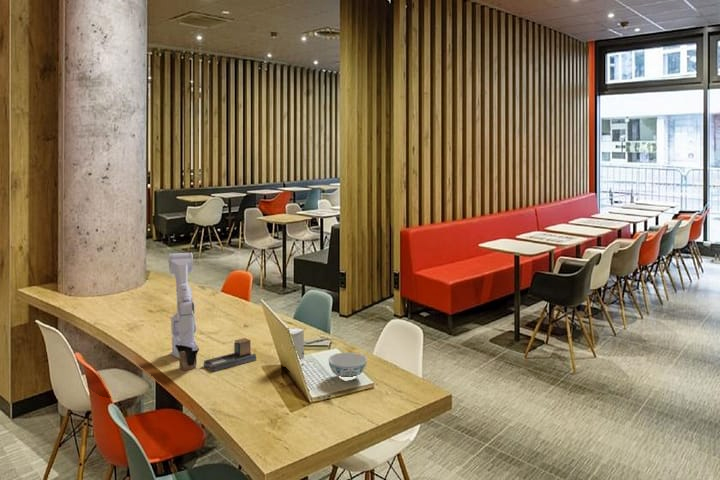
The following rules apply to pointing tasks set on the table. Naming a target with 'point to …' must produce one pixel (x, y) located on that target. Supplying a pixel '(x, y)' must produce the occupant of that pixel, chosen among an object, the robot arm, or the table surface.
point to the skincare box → (298, 341)
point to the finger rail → (232, 357)
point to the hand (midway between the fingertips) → (187, 363)
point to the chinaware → (347, 364)
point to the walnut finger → (185, 362)
